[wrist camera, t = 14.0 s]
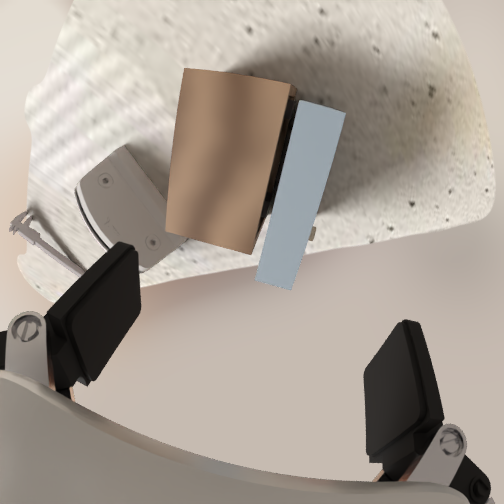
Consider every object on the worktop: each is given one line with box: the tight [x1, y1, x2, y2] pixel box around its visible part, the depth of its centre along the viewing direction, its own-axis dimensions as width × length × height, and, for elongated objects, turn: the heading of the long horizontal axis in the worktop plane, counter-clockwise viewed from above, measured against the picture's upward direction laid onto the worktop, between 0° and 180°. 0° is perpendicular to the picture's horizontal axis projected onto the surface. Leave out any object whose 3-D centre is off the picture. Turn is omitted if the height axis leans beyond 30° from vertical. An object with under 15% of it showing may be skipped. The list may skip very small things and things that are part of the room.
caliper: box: [9, 212, 85, 277], centre depth 45 cm, size 20×1×6 cm, turn 49°
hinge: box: [75, 145, 188, 273], centre depth 36 cm, size 17×5×10 cm, turn 35°
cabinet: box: [165, 68, 297, 255], centre depth 29 cm, size 14×16×10 cm
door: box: [255, 100, 346, 290], centre depth 26 cm, size 4×14×15 cm, turn 168°
